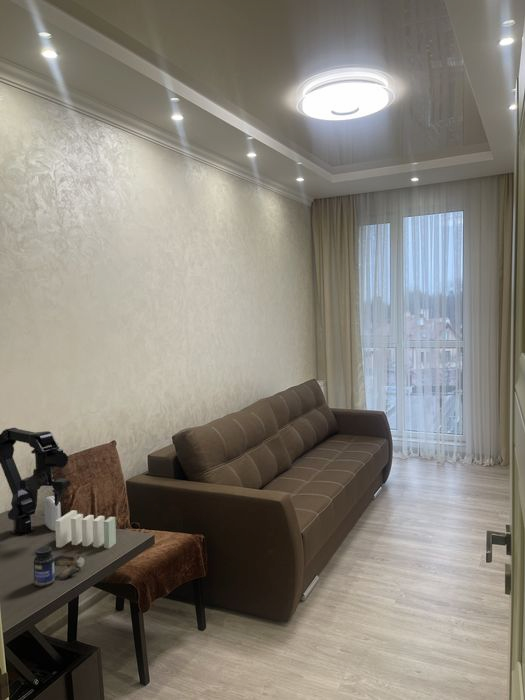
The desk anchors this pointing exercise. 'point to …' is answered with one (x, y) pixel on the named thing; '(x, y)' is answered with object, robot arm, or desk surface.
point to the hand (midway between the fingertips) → (45, 505)
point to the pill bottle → (44, 567)
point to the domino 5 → (109, 532)
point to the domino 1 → (64, 528)
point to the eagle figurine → (70, 563)
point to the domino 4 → (98, 531)
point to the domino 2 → (76, 529)
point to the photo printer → (51, 512)
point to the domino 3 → (87, 530)
